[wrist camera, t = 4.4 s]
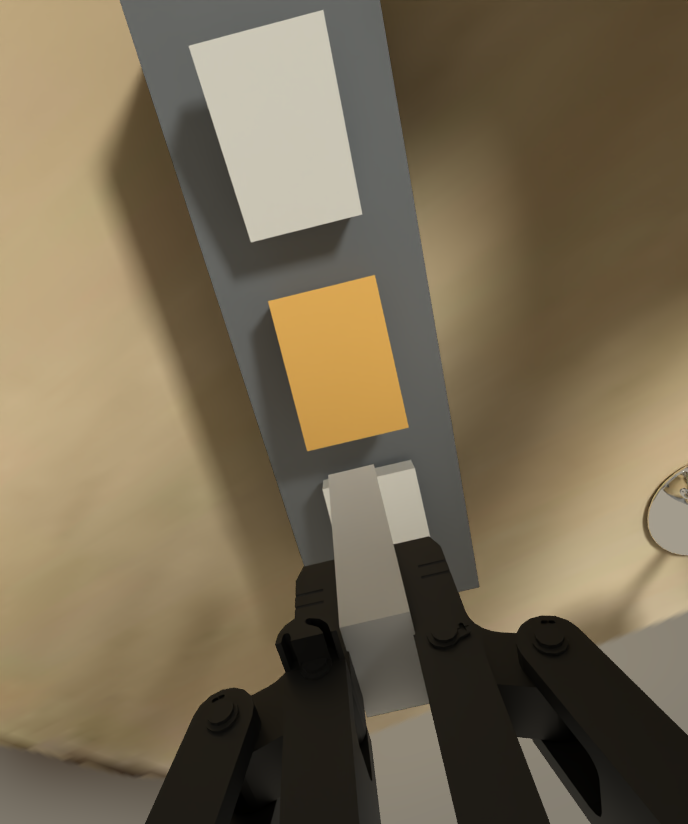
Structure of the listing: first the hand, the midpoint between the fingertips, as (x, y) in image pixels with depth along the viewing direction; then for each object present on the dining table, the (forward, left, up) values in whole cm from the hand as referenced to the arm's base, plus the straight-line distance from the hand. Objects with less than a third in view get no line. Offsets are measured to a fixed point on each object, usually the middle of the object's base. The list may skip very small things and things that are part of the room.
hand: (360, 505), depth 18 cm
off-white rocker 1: (-12, 0, -7) cm, 14 cm away
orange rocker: (-3, 0, -7) cm, 8 cm away
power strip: (-6, 0, -15) cm, 16 cm away
